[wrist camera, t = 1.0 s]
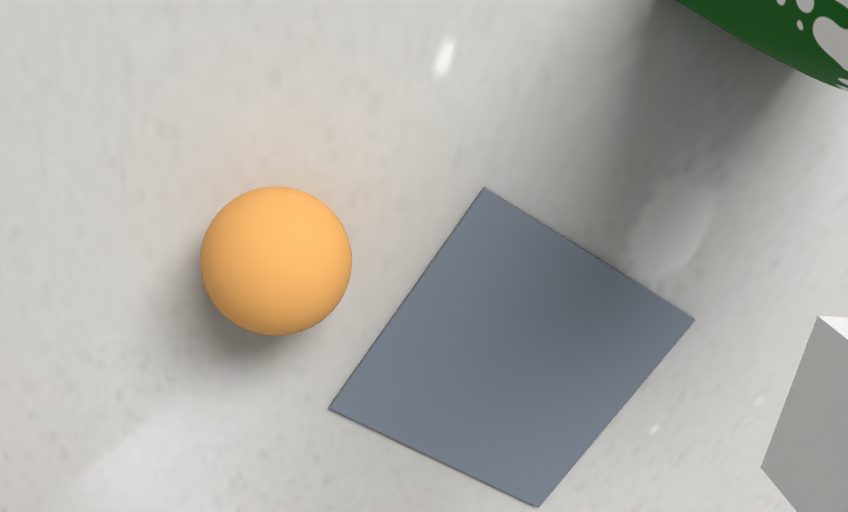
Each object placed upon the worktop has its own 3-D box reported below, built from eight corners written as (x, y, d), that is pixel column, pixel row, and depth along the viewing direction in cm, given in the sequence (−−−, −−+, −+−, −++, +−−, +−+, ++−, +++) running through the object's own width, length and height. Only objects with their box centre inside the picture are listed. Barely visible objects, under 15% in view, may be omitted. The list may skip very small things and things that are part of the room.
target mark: (329, 405, 35) (329, 408, 35) (483, 186, 32) (485, 188, 32) (537, 505, 39) (538, 507, 39) (693, 318, 36) (695, 320, 36)
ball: (183, 255, 32) (161, 319, 27) (252, 141, 30) (242, 186, 25) (303, 317, 34) (303, 388, 29) (373, 212, 32) (386, 267, 27)
